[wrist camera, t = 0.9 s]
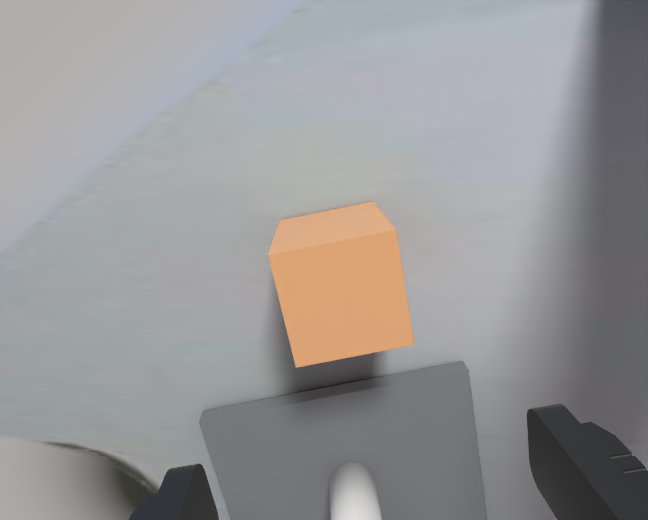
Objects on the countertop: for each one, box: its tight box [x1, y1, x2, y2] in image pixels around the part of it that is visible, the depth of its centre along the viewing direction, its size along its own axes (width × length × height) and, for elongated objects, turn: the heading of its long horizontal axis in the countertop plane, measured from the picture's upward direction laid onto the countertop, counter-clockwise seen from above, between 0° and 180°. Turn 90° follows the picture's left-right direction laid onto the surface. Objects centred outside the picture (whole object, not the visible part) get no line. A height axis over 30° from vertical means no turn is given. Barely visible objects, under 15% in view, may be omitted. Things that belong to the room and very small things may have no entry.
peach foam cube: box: [268, 201, 414, 368], centre depth 25 cm, size 6×6×8 cm
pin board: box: [199, 361, 487, 520], centre depth 30 cm, size 18×14×7 cm
